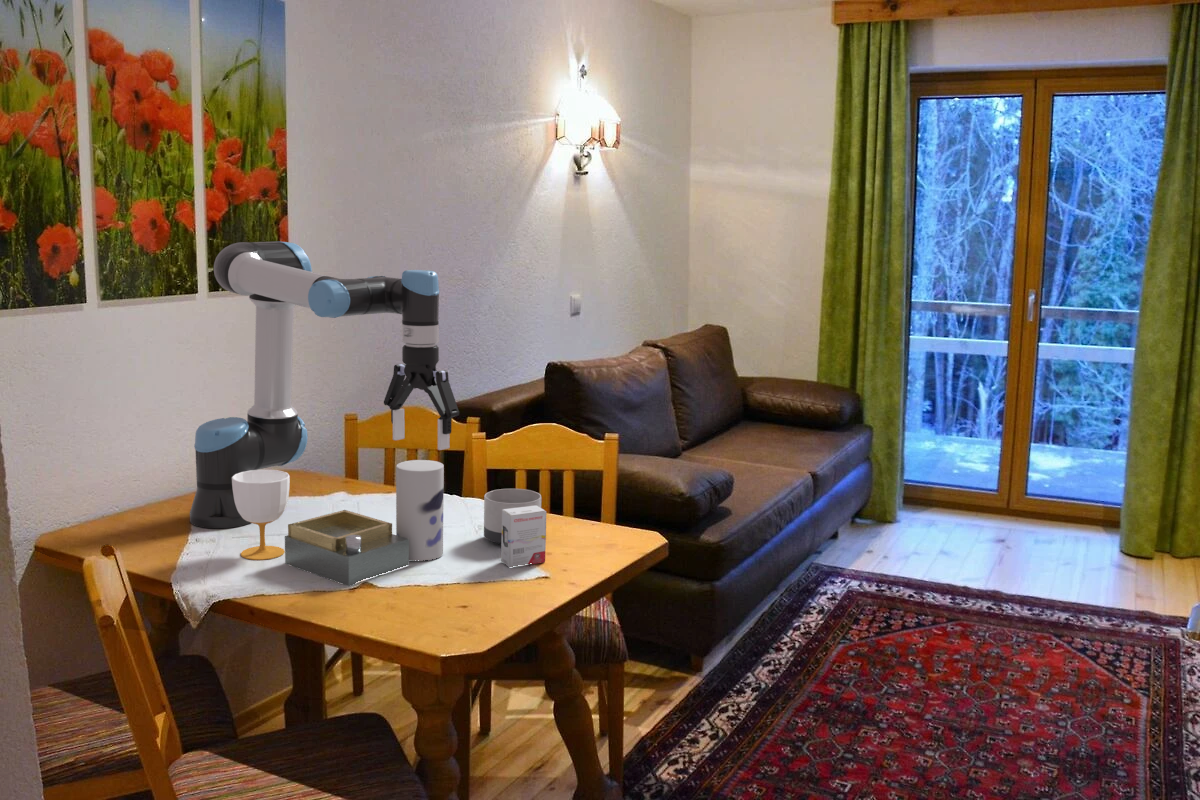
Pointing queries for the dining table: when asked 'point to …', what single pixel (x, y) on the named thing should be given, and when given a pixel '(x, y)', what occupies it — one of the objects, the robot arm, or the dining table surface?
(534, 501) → the planter
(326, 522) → the grey boxy piece
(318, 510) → the dining table surface
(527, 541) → the ink box
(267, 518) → the cup
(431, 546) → the container
